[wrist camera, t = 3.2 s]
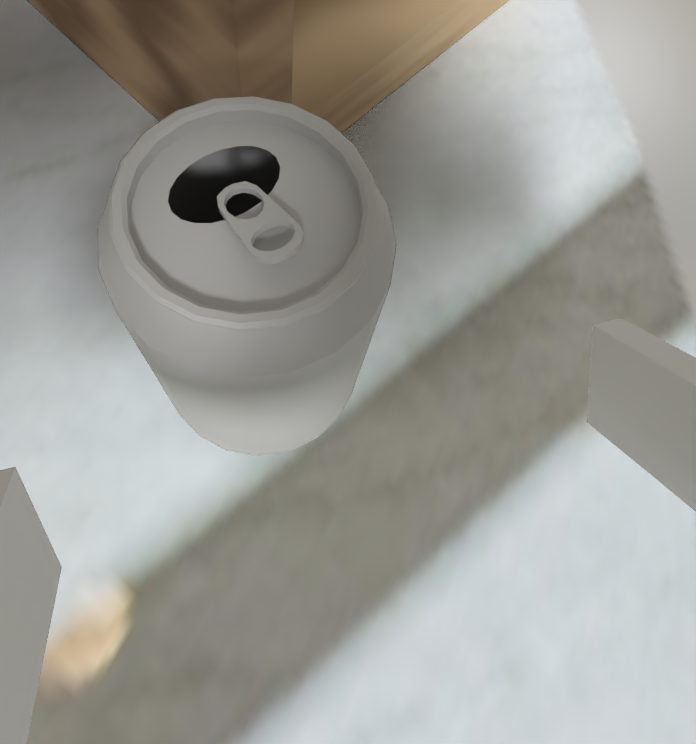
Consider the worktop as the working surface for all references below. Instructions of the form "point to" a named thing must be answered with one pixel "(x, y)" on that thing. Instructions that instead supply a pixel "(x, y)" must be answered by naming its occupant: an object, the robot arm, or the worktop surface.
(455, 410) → the worktop surface
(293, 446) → the can
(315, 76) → the wooden l-shaped piece
